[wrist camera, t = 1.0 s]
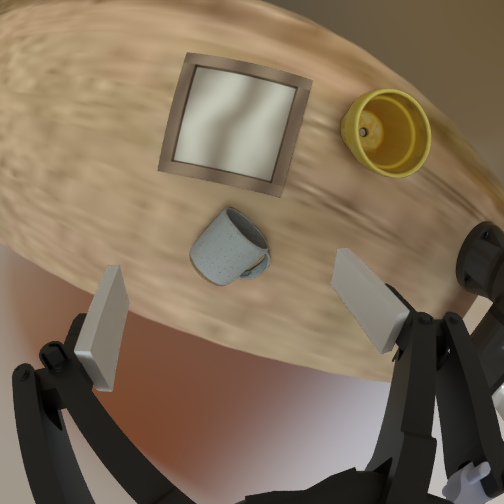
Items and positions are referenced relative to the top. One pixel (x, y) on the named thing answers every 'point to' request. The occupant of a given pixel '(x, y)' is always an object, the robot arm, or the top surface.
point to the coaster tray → (234, 123)
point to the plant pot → (387, 132)
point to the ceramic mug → (229, 249)
